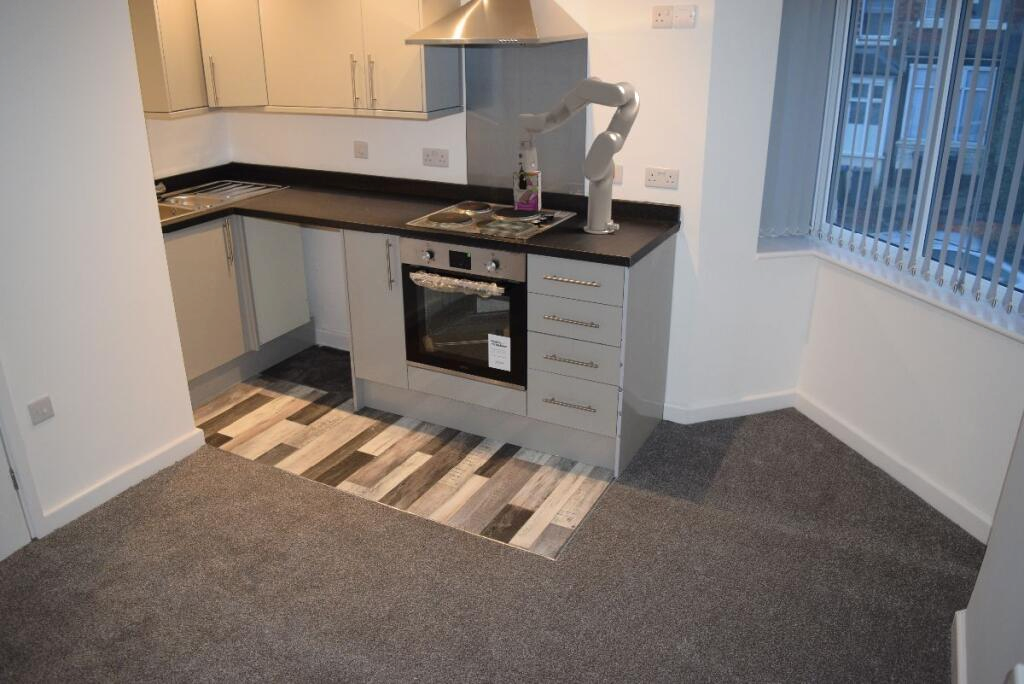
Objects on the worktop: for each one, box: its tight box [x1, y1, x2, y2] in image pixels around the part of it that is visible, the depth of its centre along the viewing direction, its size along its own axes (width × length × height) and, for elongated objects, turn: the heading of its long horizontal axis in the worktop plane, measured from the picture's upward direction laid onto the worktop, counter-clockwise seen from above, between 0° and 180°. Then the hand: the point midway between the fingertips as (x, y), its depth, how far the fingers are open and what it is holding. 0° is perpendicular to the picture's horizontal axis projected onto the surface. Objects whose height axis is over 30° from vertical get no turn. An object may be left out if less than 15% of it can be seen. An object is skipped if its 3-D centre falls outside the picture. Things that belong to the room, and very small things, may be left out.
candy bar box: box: [512, 169, 542, 212], centre depth 348 cm, size 11×5×16 cm, turn 74°
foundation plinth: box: [479, 218, 539, 240], centre depth 338 cm, size 18×17×3 cm
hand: (527, 187), depth 347 cm, fingers closed on candy bar box, 5 cm apart
